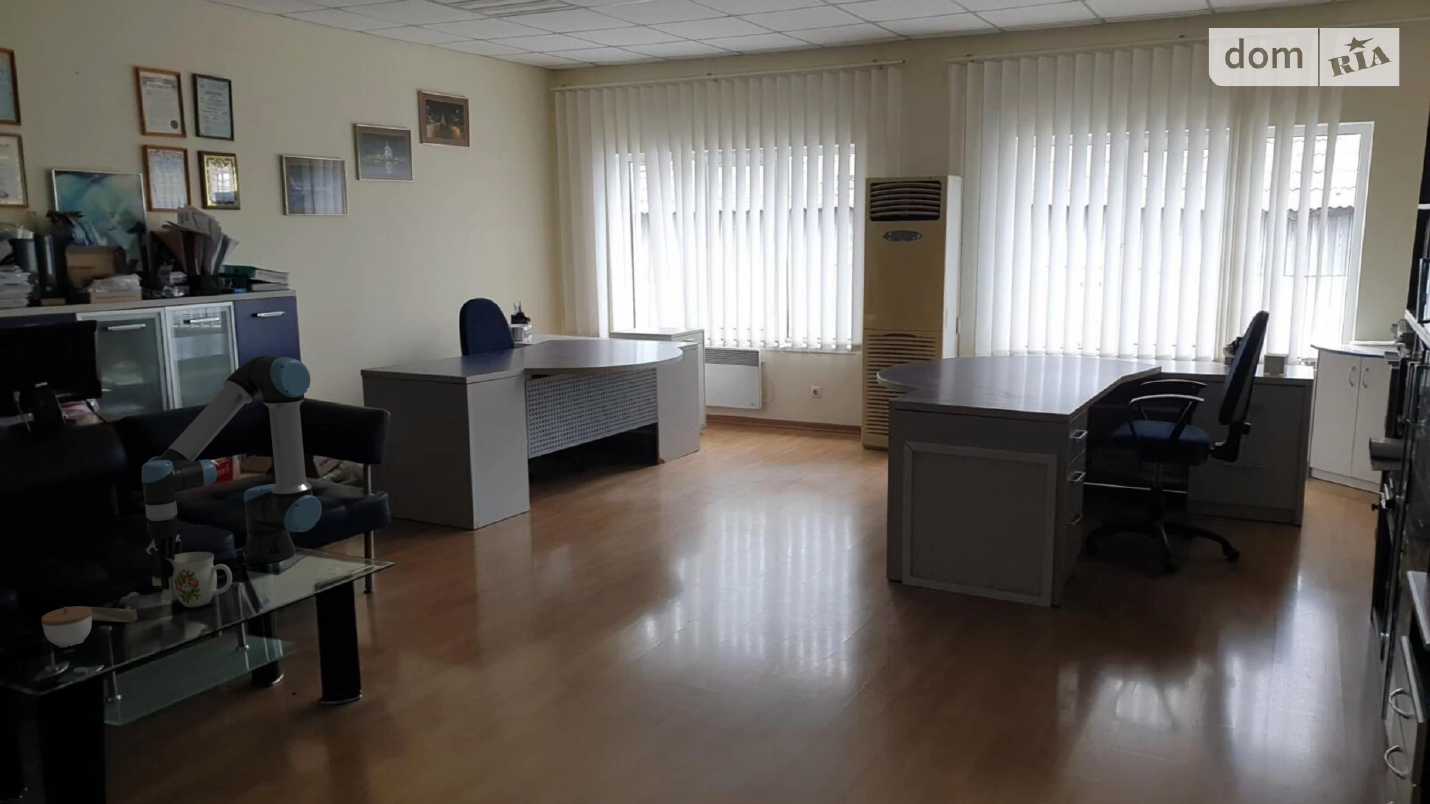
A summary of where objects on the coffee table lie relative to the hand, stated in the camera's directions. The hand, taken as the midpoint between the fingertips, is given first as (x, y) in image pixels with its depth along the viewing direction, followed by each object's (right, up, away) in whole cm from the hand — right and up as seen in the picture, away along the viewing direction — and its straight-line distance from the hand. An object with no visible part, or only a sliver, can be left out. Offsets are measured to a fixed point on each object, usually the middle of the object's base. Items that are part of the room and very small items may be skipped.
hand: (170, 599), depth 282 cm
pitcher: (+8, -1, +1) cm, 8 cm away
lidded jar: (-12, -6, -25) cm, 29 cm away
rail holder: (-8, -1, +2) cm, 8 cm away
